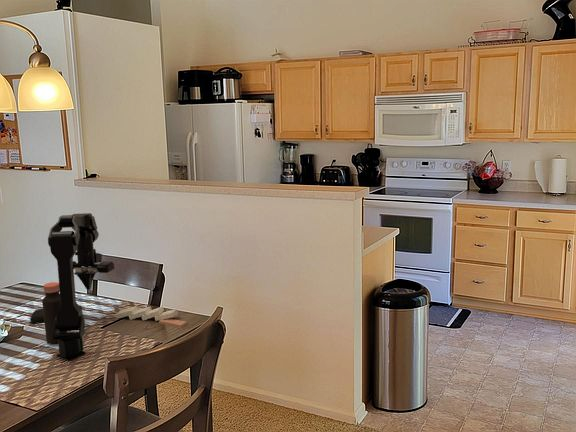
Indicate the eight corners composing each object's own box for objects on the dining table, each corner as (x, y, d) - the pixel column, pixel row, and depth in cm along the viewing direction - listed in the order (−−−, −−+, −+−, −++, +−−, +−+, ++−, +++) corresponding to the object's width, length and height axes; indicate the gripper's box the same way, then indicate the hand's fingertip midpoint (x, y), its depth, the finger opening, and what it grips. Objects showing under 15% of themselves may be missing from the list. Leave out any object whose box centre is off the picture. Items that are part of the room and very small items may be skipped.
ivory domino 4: (161, 316, 212) (178, 313, 211) (155, 320, 207) (172, 317, 206) (159, 312, 212) (176, 309, 210) (154, 316, 207) (171, 312, 206)
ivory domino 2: (135, 315, 215) (151, 309, 213) (130, 319, 210) (146, 314, 208) (134, 311, 214) (150, 306, 213) (128, 316, 210) (144, 310, 208)
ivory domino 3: (148, 315, 213) (164, 310, 212) (143, 320, 208) (159, 314, 207) (146, 312, 213) (162, 306, 212) (141, 316, 208) (157, 310, 207)
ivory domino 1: (122, 314, 216) (138, 309, 214) (116, 319, 211) (132, 314, 209) (120, 310, 215) (136, 305, 214) (114, 315, 210) (131, 310, 209)
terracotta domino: (165, 321, 209) (187, 326, 204) (159, 325, 206) (181, 329, 201) (165, 317, 209) (186, 321, 204) (158, 320, 206) (180, 325, 201)
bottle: (59, 345, 188) (53, 288, 184) (42, 343, 190) (35, 286, 186) (72, 337, 194) (66, 282, 190) (55, 335, 196) (49, 280, 192)
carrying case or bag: (29, 326, 206) (72, 321, 210) (28, 318, 205) (71, 313, 210) (33, 316, 216) (74, 311, 220) (32, 308, 215) (73, 304, 220)
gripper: (119, 243, 210) (122, 283, 213) (72, 242, 212) (75, 282, 215) (105, 250, 199) (109, 292, 202) (56, 249, 202) (60, 291, 204)
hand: (88, 289), depth 206 cm, fingers closed
